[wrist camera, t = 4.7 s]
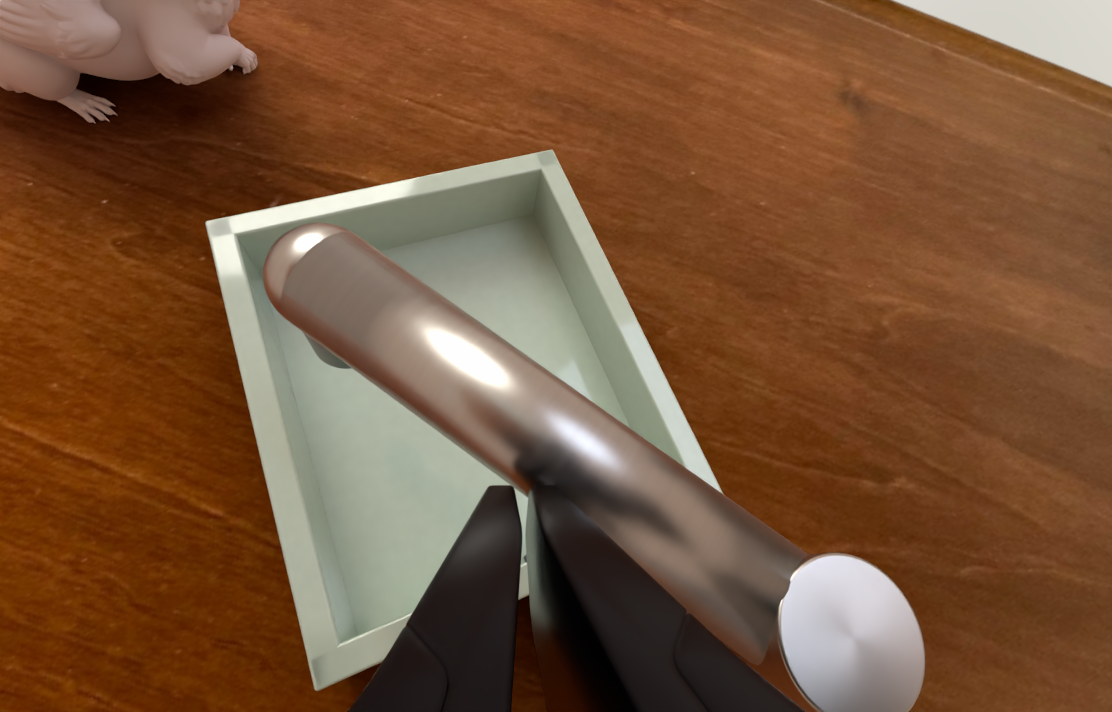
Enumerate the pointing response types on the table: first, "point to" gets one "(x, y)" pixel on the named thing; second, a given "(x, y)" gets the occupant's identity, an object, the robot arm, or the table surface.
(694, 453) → the sink
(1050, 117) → the table surface
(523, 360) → the faucet
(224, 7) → the figurine
